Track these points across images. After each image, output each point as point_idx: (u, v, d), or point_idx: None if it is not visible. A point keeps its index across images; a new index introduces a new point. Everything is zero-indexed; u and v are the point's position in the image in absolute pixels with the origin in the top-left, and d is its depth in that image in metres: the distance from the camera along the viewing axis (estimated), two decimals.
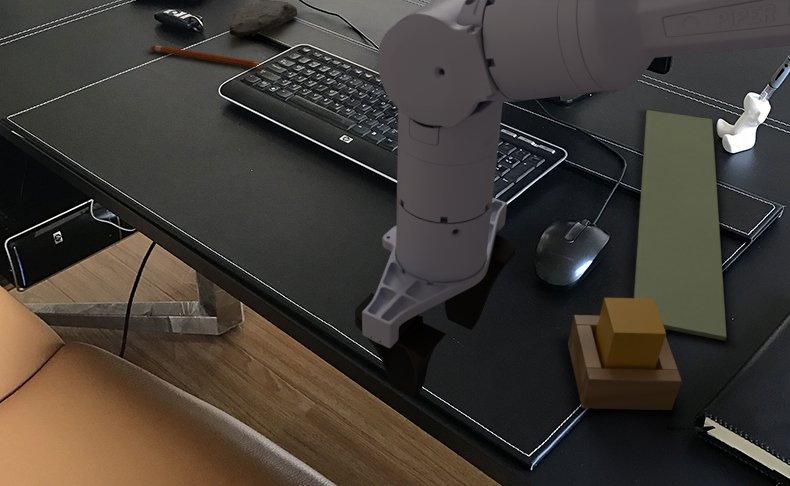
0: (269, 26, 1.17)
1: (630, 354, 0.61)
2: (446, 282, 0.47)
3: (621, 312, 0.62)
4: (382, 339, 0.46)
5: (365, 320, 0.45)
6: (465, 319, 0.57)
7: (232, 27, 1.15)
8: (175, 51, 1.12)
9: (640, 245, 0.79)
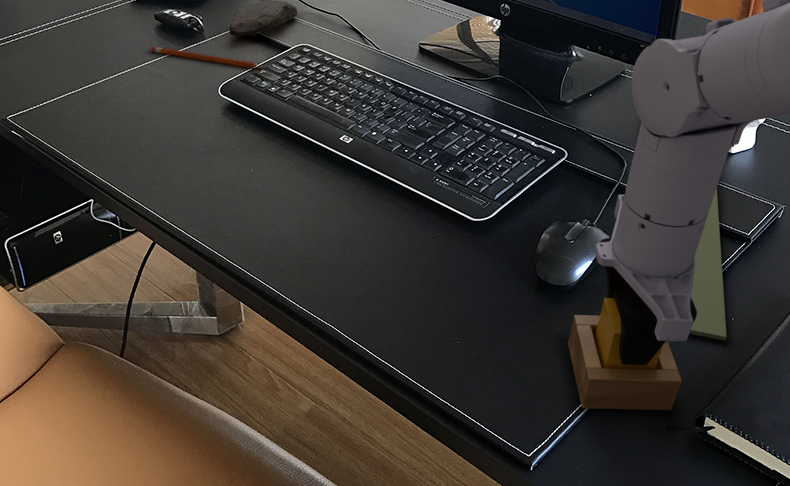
0: (269, 26, 1.17)
1: None
2: (684, 271, 0.56)
3: None
4: (680, 336, 0.53)
5: (666, 326, 0.52)
6: None
7: (232, 27, 1.15)
8: (175, 53, 1.12)
9: None
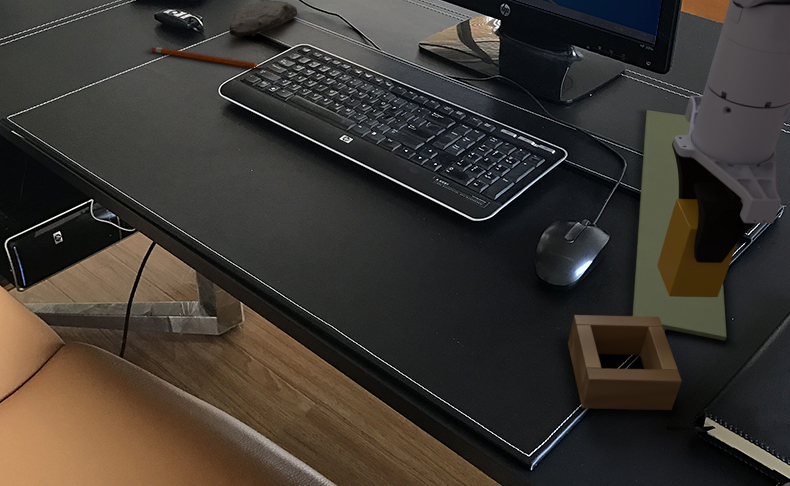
0: (269, 26, 1.17)
1: None
2: (766, 159, 0.56)
3: (695, 211, 0.62)
4: (767, 218, 0.53)
5: (754, 207, 0.52)
6: None
7: (232, 27, 1.15)
8: (176, 53, 1.12)
9: (640, 245, 0.79)
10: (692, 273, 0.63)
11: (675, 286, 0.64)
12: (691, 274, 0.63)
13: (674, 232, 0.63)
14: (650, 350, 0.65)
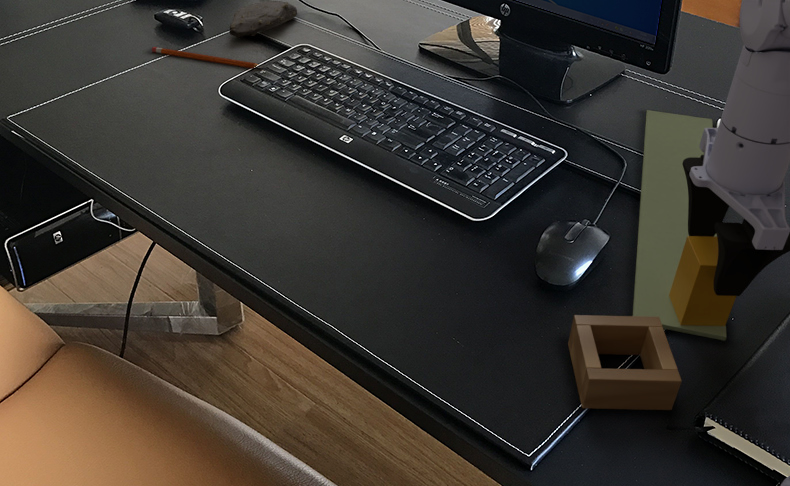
0: (269, 26, 1.17)
1: (713, 286, 0.67)
2: (776, 190, 0.60)
3: (705, 248, 0.67)
4: (777, 245, 0.57)
5: (765, 235, 0.57)
6: (708, 231, 0.70)
7: (232, 27, 1.15)
8: (176, 53, 1.12)
9: (640, 245, 0.79)
10: (701, 304, 0.68)
11: (686, 315, 0.69)
12: (700, 305, 0.68)
13: (685, 266, 0.69)
14: (650, 350, 0.65)
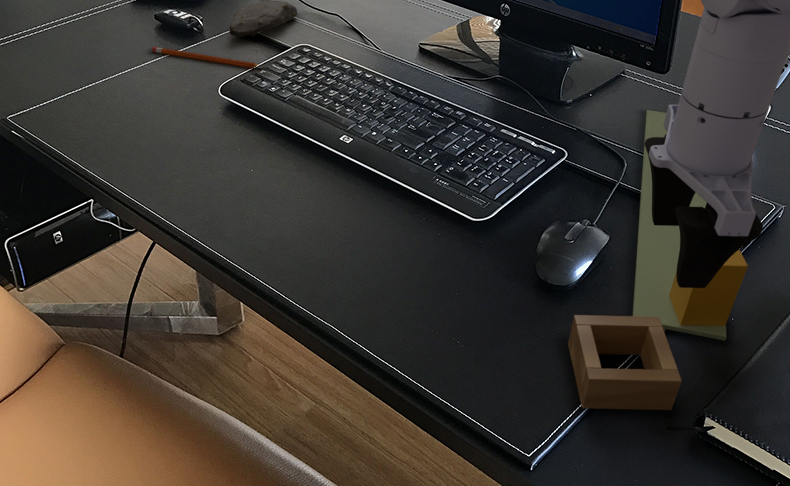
0: (269, 26, 1.17)
1: (713, 286, 0.67)
2: (742, 170, 0.55)
3: None
4: (742, 230, 0.52)
5: (728, 219, 0.51)
6: (674, 218, 0.64)
7: (232, 27, 1.15)
8: (176, 53, 1.12)
9: (640, 245, 0.79)
10: (701, 304, 0.68)
11: (686, 315, 0.69)
12: (700, 305, 0.68)
13: None
14: (650, 350, 0.65)
